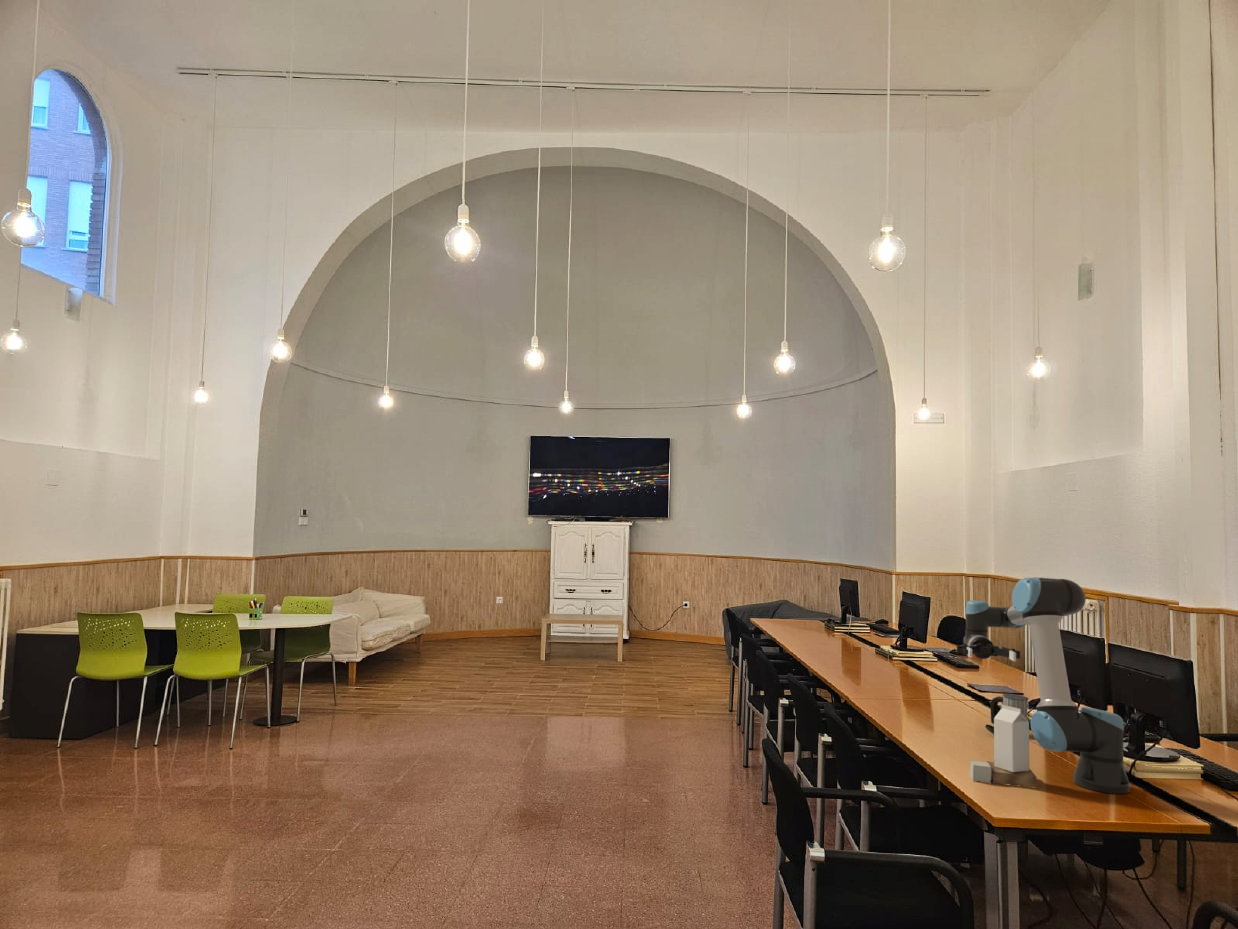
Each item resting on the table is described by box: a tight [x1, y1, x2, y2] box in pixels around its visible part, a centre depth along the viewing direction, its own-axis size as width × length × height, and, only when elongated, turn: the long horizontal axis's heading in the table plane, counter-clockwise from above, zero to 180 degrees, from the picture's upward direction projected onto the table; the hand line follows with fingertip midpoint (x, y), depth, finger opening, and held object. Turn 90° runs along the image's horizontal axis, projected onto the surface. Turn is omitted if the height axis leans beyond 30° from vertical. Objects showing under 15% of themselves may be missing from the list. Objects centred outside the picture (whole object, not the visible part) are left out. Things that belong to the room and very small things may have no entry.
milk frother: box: [985, 693, 1029, 735], centre depth 319 cm, size 14×16×15 cm
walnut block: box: [986, 760, 1037, 788], centre depth 259 cm, size 12×12×4 cm
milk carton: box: [993, 704, 1030, 772], centre depth 259 cm, size 7×7×19 cm
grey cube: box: [969, 760, 992, 784], centre depth 257 cm, size 5×5×5 cm
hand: (992, 655), depth 277 cm, fingers open, 13 cm apart
